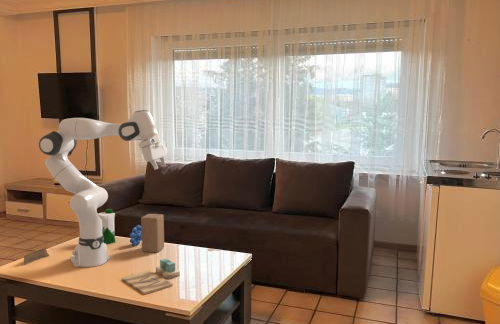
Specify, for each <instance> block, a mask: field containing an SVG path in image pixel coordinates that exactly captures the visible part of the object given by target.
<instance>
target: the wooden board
mask: <svg viewBox="0 0 500 324" xmlns="http://www.w3.org/2000/svg"><path fill="white" fill-rule="evenodd" d="M121 281H123V282H124V283H125V284H127V285H129V286H130V287H132V288H133V289H135V290H137V292H140V293H141V294H143V295H144V296H145V295H148V294H152V293H155V292H158V291H161V290H164V289H167V288H171V287H173V286H174V285H173V283H172V282H171V281H169V280H167V279H166V278H163V277H161V276H159V274H158V275H157V274H156V273H154V272H152V271H151V270H145V271H142V272H141V271H140V272H137V273H133V274H130V275H126V276H123V277H121Z"/></svg>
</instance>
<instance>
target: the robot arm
mask: <svg viewBox="0 0 500 324" xmlns="http://www.w3.org/2000/svg"><path fill="white" fill-rule="evenodd" d="M156 128H157V127H156V123H155V120H154V117H153V116H152V114H151V112H150V111H149V110H146V109H141V110H136V111H134V112H133V113H132V114H131V116H130V117H129V118H128V119H127V120H126V121H124V122H123V123H112V122H107V121H101V120H98V119H93V118H86V117H71V118H69V117H68V118H65V119H62V120H61V121H60V122H59V125H58V130H57V131H55V130H52V131H51V132H49V133H47V134H45V135H44V136H42V137H41V138H39V142H38V148H39V150H40V151H41V152H42V153H43V154H44V155H47V156H48V157H47V158H46V159H45V161H44V163H45V164H44V165H45V167H46V169H47V170H48V171H49V173H50V175H51V176H52V177H53V178H54V179H55V180H56V182H58V184H60V186H61V187H62V188H63V189H64V190H66V191H67V192H70V193H71V194H74V195H73V196H72V197H71V198H70V200H69V207H70V209H71V210H72V212H74V213H75V214H76V217H77V221H78V227H79V236H78V237H79V238H78V244H77V245H76V246H75V247H74V250H72V251H71V252H72V253H71V254H72V255H71V256H69V260H70V261H71V263H72V266H73V267H75V268H78V267H82V268H91V267H98V266H101V265H104V264H106V263H107V261H108V260H110V259H111V256H110V255H108V248H107V244H105V243H104V237H103V234H102V220H101V219H100V218H99V217H98V214H99V213H98V211H97V209H98V208H100V207H102V206H103V205H104V204H105V203H106V202H107V201H108V198H109V194H108V191H107V190H106V189H105V188H104V187H101V186H98V185H97V184H95V183H94V182H92V181H91V180H90V179H88V178H87V177H85V176H84V175H83V174H82V173H81V171H79V170H78V168H77V167H76V166H75V165H74V164H73V163H72V162H71V161H70V160H69V158H68V157H70V156H71V155H72V153H73V152H74V150H75V149H76V148H77V145H78V140H79V141H80V140H83V141H89V140H95V139H99V138H104V137H109V136H111V137H112V136H116V137H118V136H119V138H120V139H121V140H122V141H126V142H133V141H140V142H139V143H138V147H139V148H140V150H141V154H142V155H143V158H144V160H145V162H146V163H148V162H149V163H150V164H151V165H152V167H153V169H154V171H155V170H158V169H159V165H158V164H157V161H156V160H159V161H160V163H161V164H160V166H161V167H162V168H163V167H166V166H167V165H166V158H165V157H168V154H167V151H166V148H165V145H164V144H163V142H162V141H161V137H160V135H159V133H158V130H157V129H156Z"/></svg>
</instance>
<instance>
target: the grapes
mask: <svg viewBox="0 0 500 324" xmlns="http://www.w3.org/2000/svg"><path fill="white" fill-rule="evenodd" d="M131 231H132V232H131V233H129V237H130V239H129V243H130V244H131V246H134V247H135V246H138V245H140V243H141V242H142V235H141V224H137V225H136V226H135V227H133V228H132V230H131Z"/></svg>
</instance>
